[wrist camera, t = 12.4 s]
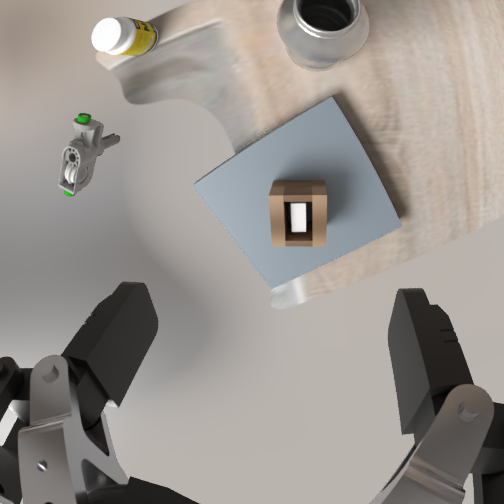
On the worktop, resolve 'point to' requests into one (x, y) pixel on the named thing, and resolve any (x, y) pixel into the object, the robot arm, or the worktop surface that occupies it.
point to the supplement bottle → (124, 36)
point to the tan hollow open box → (279, 212)
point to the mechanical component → (83, 153)
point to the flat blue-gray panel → (300, 168)
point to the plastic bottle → (322, 31)
